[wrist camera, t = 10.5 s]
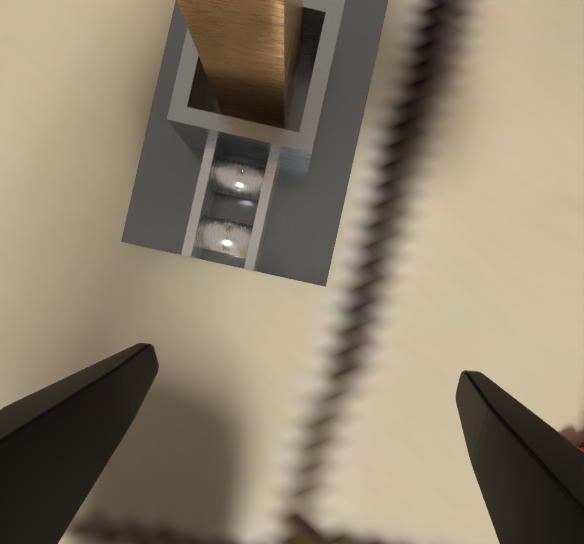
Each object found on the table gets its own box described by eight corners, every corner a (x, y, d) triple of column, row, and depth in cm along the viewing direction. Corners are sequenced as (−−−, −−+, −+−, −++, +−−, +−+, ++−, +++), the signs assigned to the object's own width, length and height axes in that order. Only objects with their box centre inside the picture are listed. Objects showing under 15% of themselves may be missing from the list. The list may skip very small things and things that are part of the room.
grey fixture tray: (323, 285, 19) (333, 289, 15) (130, 243, 18) (87, 234, 14) (392, -30, 19) (421, -112, 15) (202, -76, 19) (179, -172, 15)
